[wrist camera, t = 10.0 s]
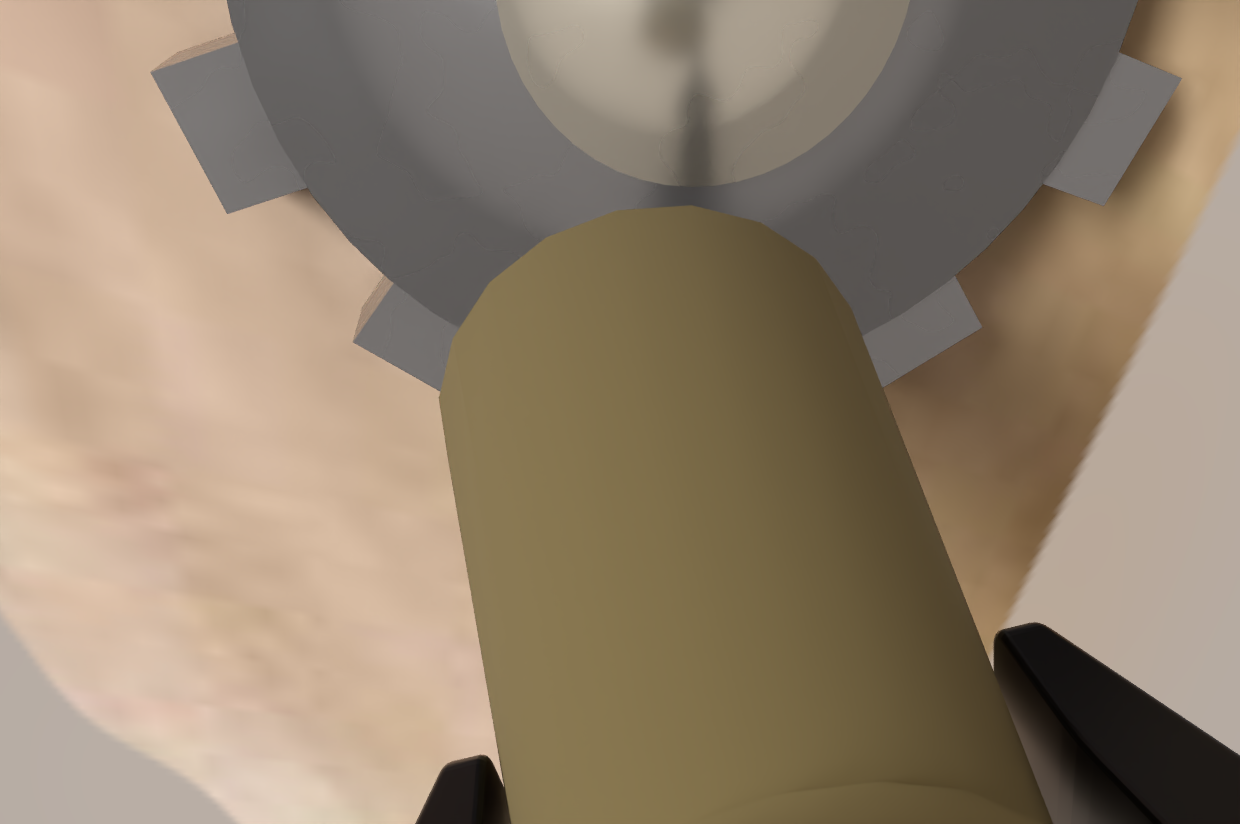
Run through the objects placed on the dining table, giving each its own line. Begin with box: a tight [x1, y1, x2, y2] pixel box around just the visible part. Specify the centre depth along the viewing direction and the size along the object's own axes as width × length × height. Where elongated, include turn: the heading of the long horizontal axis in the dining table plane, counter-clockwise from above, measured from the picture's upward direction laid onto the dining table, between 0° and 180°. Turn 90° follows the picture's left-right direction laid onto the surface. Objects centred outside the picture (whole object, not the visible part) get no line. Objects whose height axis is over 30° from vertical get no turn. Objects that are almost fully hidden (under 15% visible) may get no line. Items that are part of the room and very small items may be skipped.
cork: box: [439, 205, 1053, 824], centre depth 9 cm, size 6×6×11 cm
